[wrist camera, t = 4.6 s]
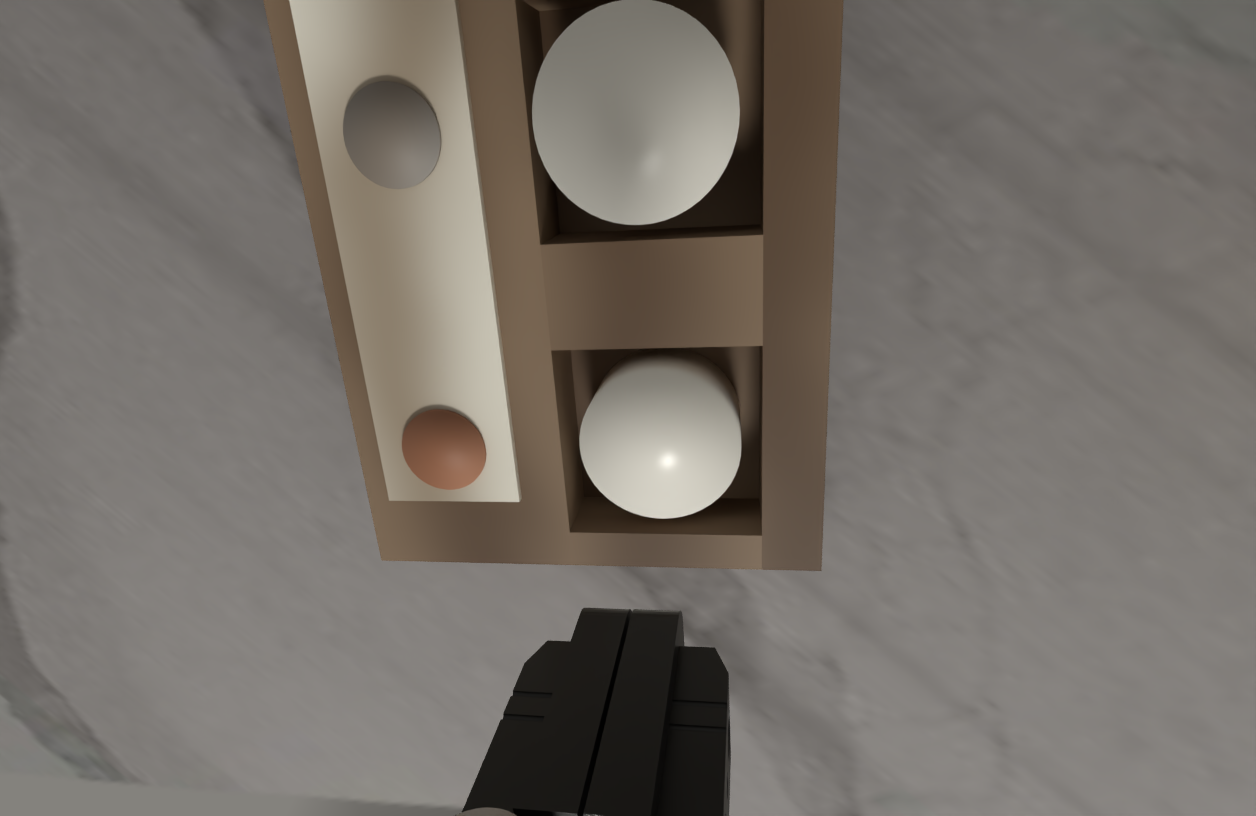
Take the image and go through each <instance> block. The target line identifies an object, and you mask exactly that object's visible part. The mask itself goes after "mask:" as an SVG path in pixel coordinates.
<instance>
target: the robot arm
mask: <svg viewBox="0 0 1256 816" xmlns="http://www.w3.org/2000/svg"><path fill="white" fill-rule="evenodd" d="M730 763H731V746H730V710H729V674H728V671H727V670H726V668H725V666H724V664H723V662H722V660H721V658H720V656H719V654H718V653H717V651H716V649H715V648H709V647H687V646H684V632H683V617H682V612H681V611H666V610H638V609H634V610H633V612H632V611H631V609H604V608H583V609H582V611H581V613H580V616H579V619H578V622H577V625H576V627H575V630H574V633H573V636H572V639H571V642H568V641H547V642H546V643H545V644H544V645H543V646H542V647H541V648H540V649H539V650H538V651H537V652H536V653H535V654H534V655H533V656H532V657H531V658H530V659H528V660H527V661H526V662H525V664H524V666H523V668H522V671H521V673H520V675H519V678H518V680H517V683H516V685H515V687H514V690H513V696H511V697H510V699H509V702H508V704H507V706H506V709H505V711H504V716H503V720H501V721H500V723H499V725H498V728H497V730H496V733H495V735H494V737H493V740H492V742H491V744H490V747H489V749H488V752H487V754H486V756H485V759H484V761H483V763H482V766H481V768H480V771H479V773H478V775H477V778H476V780H475V783H474V785H473V787H472V790H471V792H470V794H469V797H468V799H467V802H466V804H465V806H464V808H463V810H462V813H459V814H457V815H455V816H729V800H730Z"/></svg>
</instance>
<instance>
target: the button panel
mask: <svg viewBox="0 0 1256 816" xmlns="http://www.w3.org/2000/svg"><path fill="white" fill-rule="evenodd" d="M614 1H620V0H264V5H265V10H266V15H267V19H268V24H269V29H270V34H271V38H272V43H273V48H274V53H275V57H276V62H277V67H278V72H279V76H280V81H281V86H282V91H283V95H284V100H285V105H286V109H287V114H288V119H289V124H290V128H291V133H292V138H293V143H294V147H295V152H296V157H297V162H298V166H299V171H300V176H301V181H302V185H303V190H304V195H305V200H306V204H307V209H308V214H309V219H310V223H311V228H312V233H313V237H314V242H315V247H316V252H317V256H318V261H319V266H320V271H321V275H322V280H323V285H324V290H325V294H326V299H327V304H328V309H329V313H330V318H331V323H332V328H333V332H334V337H335V342H336V347H337V351H338V356H339V361H340V365H341V370H342V375H343V380H344V384H345V389H346V394H347V399H348V403H349V408H350V413H351V418H352V422H353V427H354V432H355V437H356V441H357V446H358V451H359V456H360V460H361V465H362V470H363V475H364V479H365V484H366V489H367V493H368V498H369V503H370V508H371V512H372V517H373V522H374V527H375V531H376V536H377V541H378V546H379V550H380V555H381V560H386V561H428V562H470V563H512V564H554V565H595V566H637V567H679V568H721V569H763V570H804V571H821V566H822V540H823V514H824V488H825V463H826V437H827V411H828V385H829V359H830V333H831V307H832V282H833V256H834V230H835V204H836V178H837V152H838V126H839V101H840V75H841V49H842V23H843V0H654V1H659V2H662V3H666V4H669V5H672V6H674V7H676V8H678V9H680V10H683V11H684V12H686V13H687V14H689V15H690V16H692V17H694V18H695V19H696V20H697V21H699V22H700V23H701V24H702V25H703V26H704V27H706V28H707V29H708V31H709V32H710V33H711V34H712V35H713V36H714V38H715V39H716V40H717V41H718V43H719V44H720V46H721V48H722V49H723V51H724V52H725V54H726V56H727V58H728V60H729V62H730V65H731V67H732V70H733V73H734V76H735V79H736V83H737V88H738V94H739V105H740V117H739V128H738V134H737V140H736V143H735V146H734V150H733V153H732V156H731V158H730V160H729V162H728V164H727V167H726V169H725V170H724V172H723V174H722V175H721V177H720V178H719V180H718V181H717V183H716V184H715V185H714V186H713V188H712V189H711V190H710V191H709V192H708V193H707V194H706V195H705V196H704V197H703V198H702V199H701V200H700V201H699V202H697V203H696V204H695V205H693V206H692V207H691V208H690V209H688V210H686V211H684V212H683V213H681V214H679V215H677V216H675V217H672V218H670V219H667V220H665V221H661V222H657V223H653V224H644V225H625V224H619V223H613V222H610V221H607V220H603V219H600V218H598V217H596V216H594V215H592V214H589V213H588V212H586V211H585V210H583V209H581V208H580V207H578V206H577V205H576V204H575V203H573V202H572V201H571V200H570V199H568V198H567V196H566V195H565V194H564V193H563V192H562V191H561V190H560V189H559V188H558V187H557V185H556V184H555V183H554V181H553V180H552V179H551V177H550V175H549V173H548V172H547V170H546V168H545V166H544V164H543V162H542V159H541V157H540V155H539V152H538V148H537V145H536V141H535V137H534V131H533V123H532V104H533V94H534V89H535V84H536V80H537V77H538V74H539V71H540V68H541V66H542V63H543V61H544V59H545V57H546V55H547V53H548V52H549V50H550V48H551V47H552V45H553V44H554V42H555V41H556V40H557V38H558V37H559V36H560V35H561V34H562V33H563V31H564V30H565V29H566V28H567V27H569V26H570V25H571V24H572V23H573V22H574V21H575V20H577V19H578V18H580V17H581V16H582V15H584V14H585V13H587V12H589V11H591V10H593V9H595V8H597V7H599V6H601V5H605V4H608V3H611V2H614ZM647 348H683V349H687V350H690V351H693V352H695V353H697V354H700V355H702V356H703V357H705V358H707V359H708V360H710V361H711V362H712V363H714V364H715V365H716V366H717V367H718V368H719V369H720V370H721V371H722V372H723V373H724V374H725V375H726V377H727V378H728V379H729V381H730V382H731V384H732V386H733V388H734V390H735V392H736V395H737V398H738V401H739V406H740V415H741V458H740V463H739V467H738V470H737V472H736V475H735V477H734V479H733V481H732V483H731V484H730V486H729V487H728V488H727V490H726V491H725V492H724V493H723V494H722V495H721V496H720V497H719V498H718V499H717V500H716V501H715V502H713V503H712V504H711V505H709V506H707V507H706V508H704V509H702V510H700V511H698V512H695V513H693V514H690V515H687V516H683V517H677V518H666V519H661V518H650V517H645V516H641V515H638V514H634V513H632V512H629V511H627V510H625V509H623V508H621V507H619V506H618V505H616V504H614V503H613V502H612V501H610V500H609V499H608V498H606V497H605V496H604V495H603V494H602V493H601V492H600V491H599V490H598V488H597V487H596V486H595V485H594V483H593V482H592V480H591V479H590V477H589V475H588V474H587V471H586V469H585V467H584V464H583V461H582V458H581V453H580V442H579V437H580V428H581V424H582V421H583V418H584V415H585V413H586V411H587V409H588V407H589V405H590V403H591V401H592V399H593V397H594V395H595V393H596V392H597V390H598V388H599V386H600V384H601V382H602V381H603V379H604V377H605V376H606V374H607V373H608V372H609V371H610V370H611V368H612V367H614V366H615V365H616V364H617V363H618V362H619V361H621V360H622V359H624V358H625V357H627V356H628V355H630V354H632V353H634V352H637V351H640V350H643V349H647Z"/></svg>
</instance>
